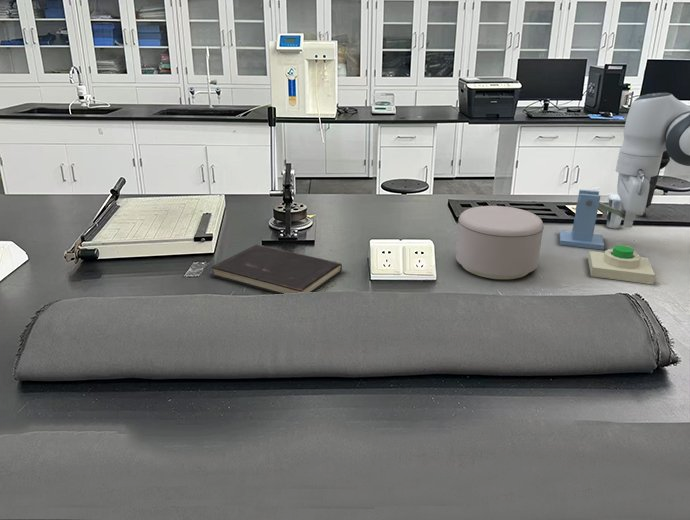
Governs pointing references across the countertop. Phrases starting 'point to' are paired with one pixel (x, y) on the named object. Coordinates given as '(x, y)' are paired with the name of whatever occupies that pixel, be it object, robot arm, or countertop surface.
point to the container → (498, 241)
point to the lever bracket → (584, 223)
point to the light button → (623, 252)
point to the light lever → (611, 209)
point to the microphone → (654, 179)
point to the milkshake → (612, 219)
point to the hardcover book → (277, 270)
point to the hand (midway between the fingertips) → (625, 221)
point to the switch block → (620, 267)
